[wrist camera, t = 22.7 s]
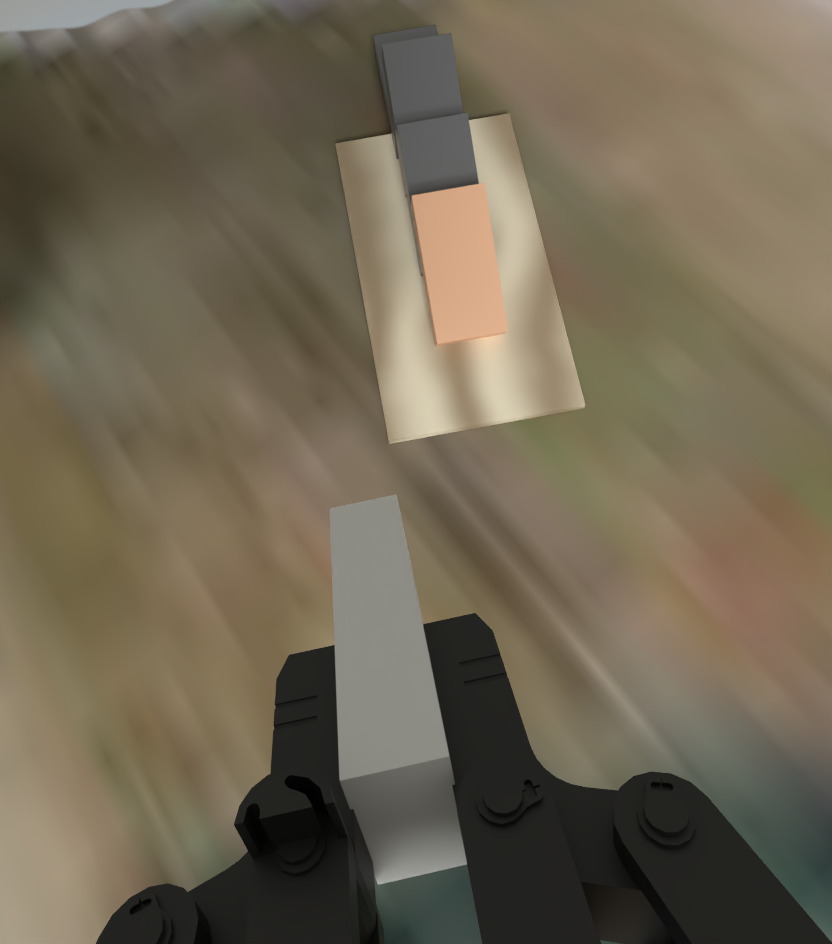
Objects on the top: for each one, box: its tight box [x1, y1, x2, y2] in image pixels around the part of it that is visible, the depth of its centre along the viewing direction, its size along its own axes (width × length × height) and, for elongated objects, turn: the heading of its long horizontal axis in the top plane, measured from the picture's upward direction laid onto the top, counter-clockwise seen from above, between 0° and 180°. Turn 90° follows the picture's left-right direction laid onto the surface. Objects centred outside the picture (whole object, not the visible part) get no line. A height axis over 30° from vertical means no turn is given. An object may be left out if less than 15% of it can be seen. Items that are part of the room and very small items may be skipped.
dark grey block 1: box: [373, 25, 438, 159], centre depth 51 cm, size 2×5×10 cm
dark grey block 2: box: [397, 113, 479, 276], centre depth 47 cm, size 2×5×10 cm
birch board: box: [335, 113, 585, 444], centre depth 49 cm, size 14×25×1 cm, turn 10°
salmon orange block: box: [411, 183, 508, 346], centre depth 46 cm, size 2×5×10 cm
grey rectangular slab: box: [382, 33, 463, 198], centre depth 48 cm, size 2×5×10 cm
